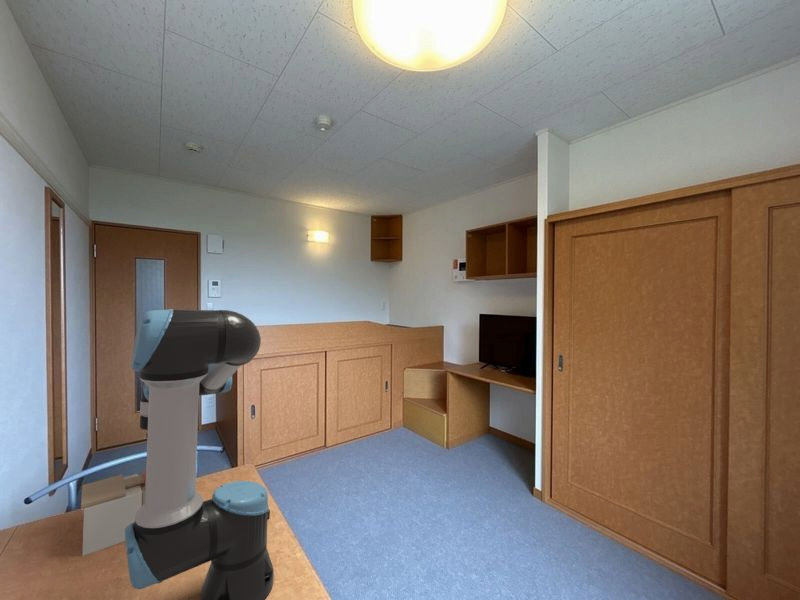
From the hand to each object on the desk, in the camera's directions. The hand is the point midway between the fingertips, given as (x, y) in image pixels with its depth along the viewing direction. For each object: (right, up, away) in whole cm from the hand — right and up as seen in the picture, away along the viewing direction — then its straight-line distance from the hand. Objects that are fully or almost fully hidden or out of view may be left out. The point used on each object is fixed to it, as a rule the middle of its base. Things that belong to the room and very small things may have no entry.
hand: (153, 489), depth 103 cm
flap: (-5, +3, -4) cm, 7 cm away
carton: (-7, -9, -7) cm, 13 cm away
